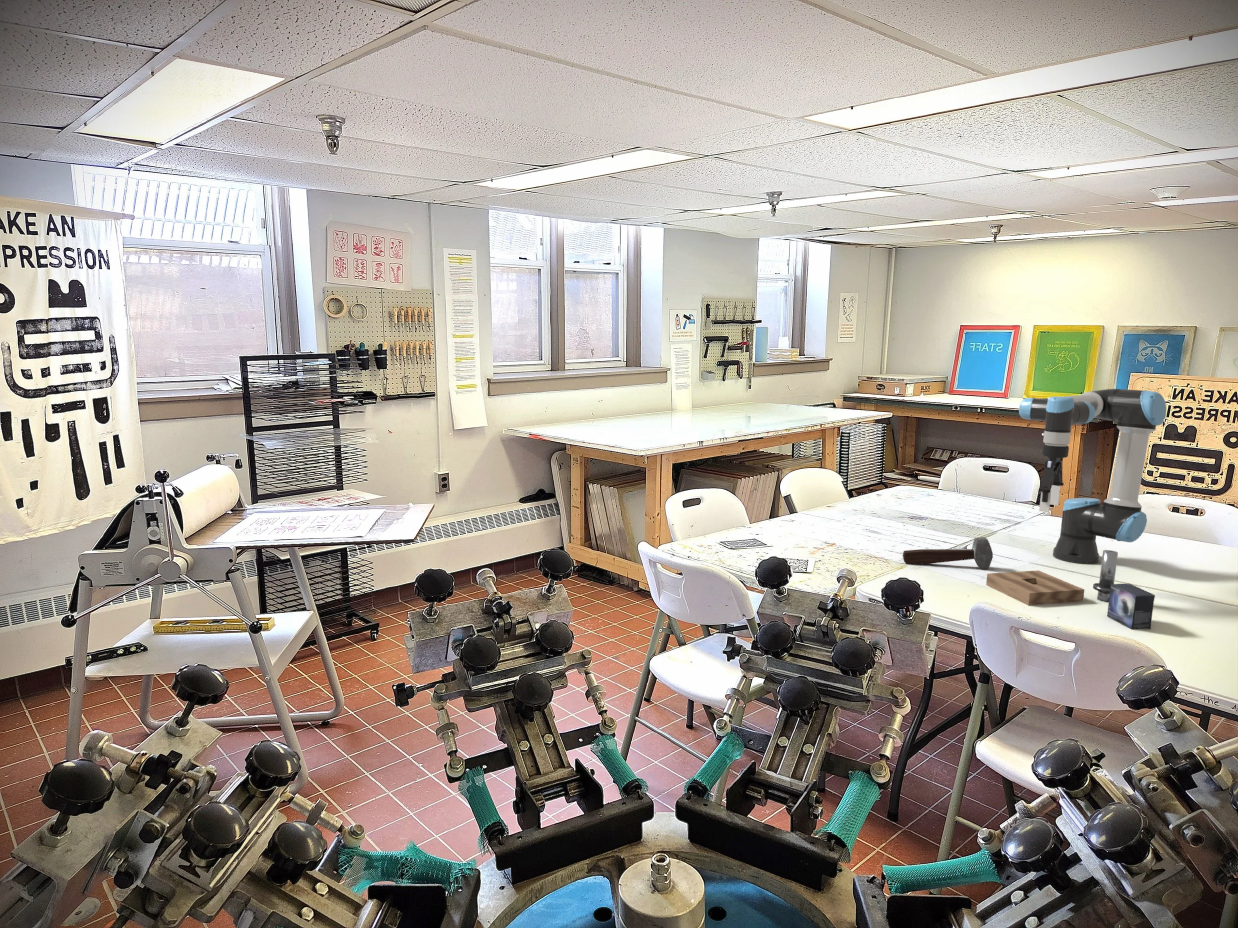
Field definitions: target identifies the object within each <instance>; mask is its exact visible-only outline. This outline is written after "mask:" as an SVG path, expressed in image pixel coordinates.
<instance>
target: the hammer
mask: <svg viewBox="0 0 1238 928" xmlns="http://www.w3.org/2000/svg"><path fill="white" fill-rule="evenodd" d="M972 542H973V543H972V548H961V549H960V548H957V549H956V548H953V549H952V548H951V549H950V548H948V549H947V548H946V549H945V548H934V549H933V548H931V549H930V548H928V549H926V548H925V549H923V548H921V549H908V550H903V552H902V559H903V562H904V563H905V565H911V566H913V565H915V566H917V565H929V564H930V565H931V564H939V563H941V564H942V563H949V562H959V561H960V562H961V561H967V560H974V562H975V564H976V566H977V567H978V568H979V569H980V570H981V571H982V570H985V571H987V570H989V568H990V567H991V564H992V561H993V559H994V556H993V550H992V546H991V543H990V541H989V540H988V538H987V537H985V536H983V537H982V536H979V537H975V538H974V539H973V541H972Z"/></svg>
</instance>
